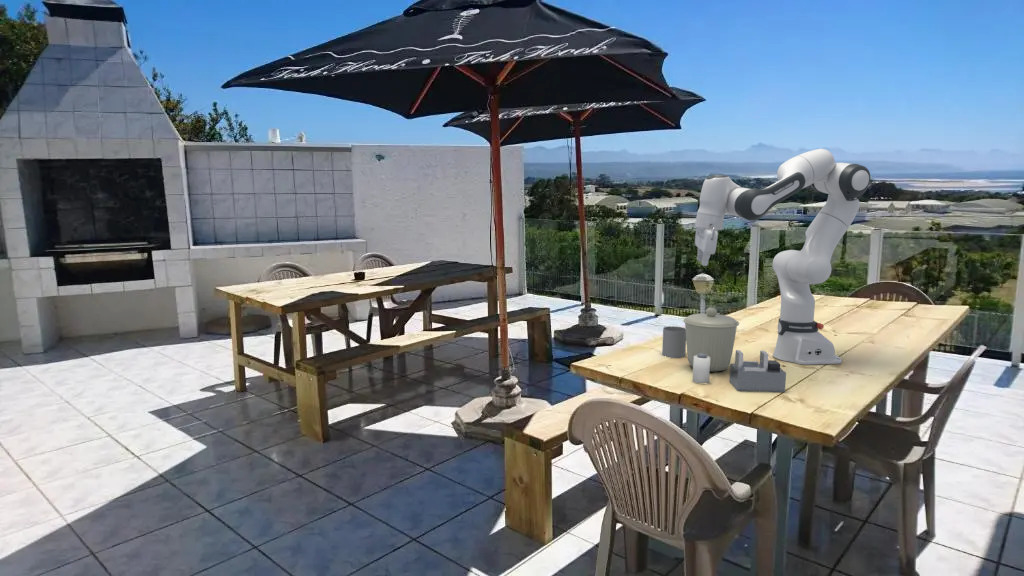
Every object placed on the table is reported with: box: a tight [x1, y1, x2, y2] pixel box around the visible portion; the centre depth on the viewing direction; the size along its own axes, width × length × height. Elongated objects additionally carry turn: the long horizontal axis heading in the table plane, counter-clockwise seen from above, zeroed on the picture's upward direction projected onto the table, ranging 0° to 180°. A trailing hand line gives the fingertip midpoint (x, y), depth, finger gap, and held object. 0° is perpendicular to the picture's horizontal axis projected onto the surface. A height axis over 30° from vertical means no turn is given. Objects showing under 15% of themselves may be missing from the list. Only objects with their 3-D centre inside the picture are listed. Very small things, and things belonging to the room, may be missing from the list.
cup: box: [661, 325, 687, 359], centre depth 223 cm, size 8×8×10 cm
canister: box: [682, 306, 740, 373], centre depth 206 cm, size 18×18×21 cm
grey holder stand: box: [728, 349, 787, 393], centre depth 186 cm, size 14×9×11 cm, turn 85°
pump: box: [692, 353, 710, 384], centre depth 192 cm, size 5×5×9 cm
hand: (701, 263), depth 207 cm, fingers open, 8 cm apart
